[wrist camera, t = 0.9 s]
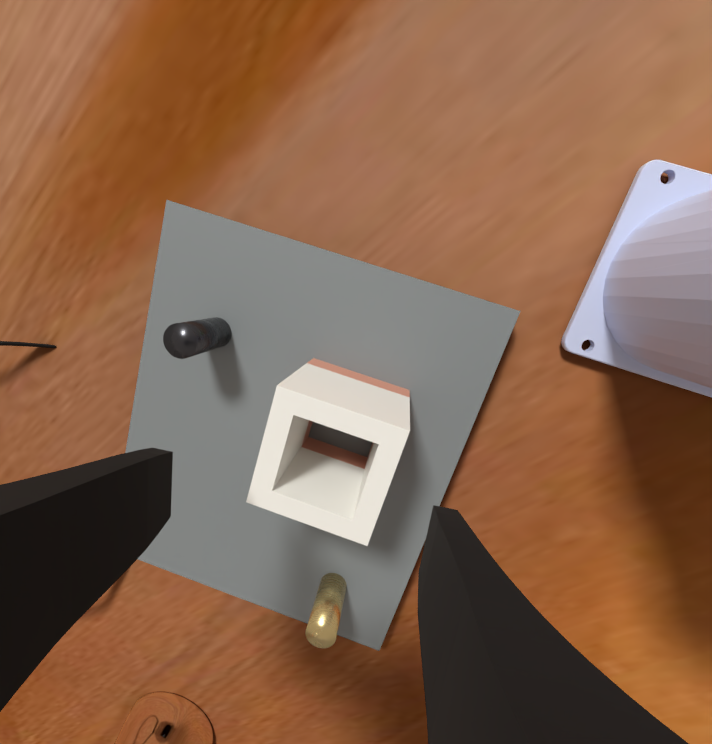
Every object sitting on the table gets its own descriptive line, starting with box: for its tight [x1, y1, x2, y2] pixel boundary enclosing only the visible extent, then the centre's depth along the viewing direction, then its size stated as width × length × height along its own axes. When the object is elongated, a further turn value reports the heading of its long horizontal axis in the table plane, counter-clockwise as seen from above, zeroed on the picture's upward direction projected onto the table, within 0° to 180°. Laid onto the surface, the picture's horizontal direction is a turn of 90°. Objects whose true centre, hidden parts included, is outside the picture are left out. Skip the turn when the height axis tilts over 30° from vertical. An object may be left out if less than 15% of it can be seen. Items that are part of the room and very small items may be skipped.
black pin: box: [163, 317, 232, 359], centre depth 16 cm, size 1×1×3 cm
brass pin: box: [306, 573, 347, 648], centre depth 18 cm, size 1×1×3 cm
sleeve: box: [246, 358, 410, 546], centre depth 15 cm, size 5×5×5 cm
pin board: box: [125, 200, 520, 651], centre depth 19 cm, size 16×19×2 cm
